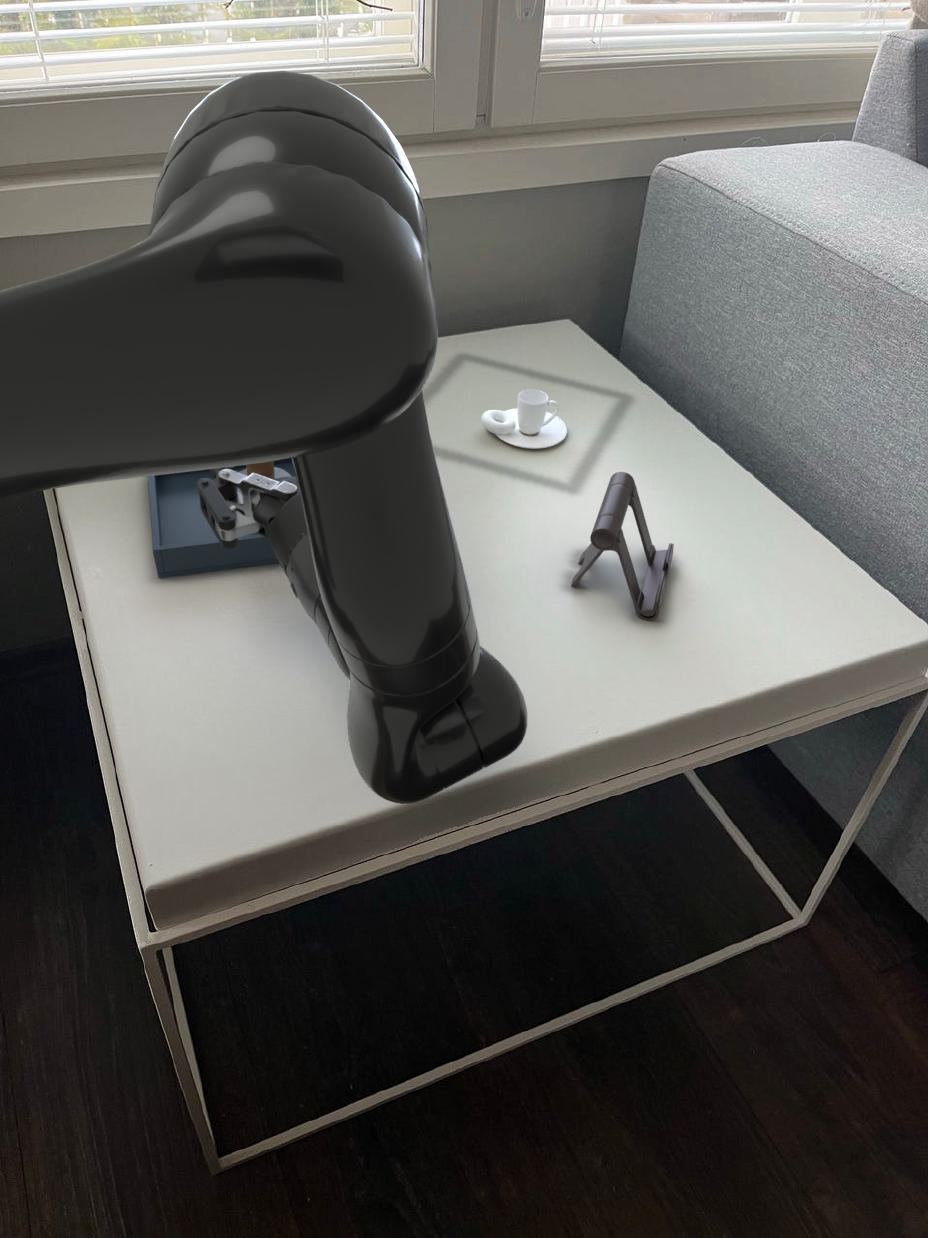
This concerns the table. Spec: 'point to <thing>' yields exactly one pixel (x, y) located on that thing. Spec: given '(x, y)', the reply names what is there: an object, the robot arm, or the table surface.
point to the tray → (197, 529)
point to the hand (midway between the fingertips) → (270, 445)
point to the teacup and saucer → (527, 422)
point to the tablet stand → (612, 538)
